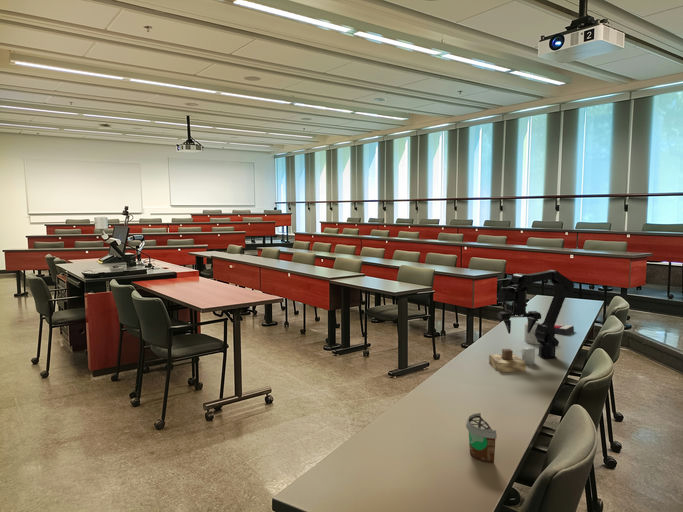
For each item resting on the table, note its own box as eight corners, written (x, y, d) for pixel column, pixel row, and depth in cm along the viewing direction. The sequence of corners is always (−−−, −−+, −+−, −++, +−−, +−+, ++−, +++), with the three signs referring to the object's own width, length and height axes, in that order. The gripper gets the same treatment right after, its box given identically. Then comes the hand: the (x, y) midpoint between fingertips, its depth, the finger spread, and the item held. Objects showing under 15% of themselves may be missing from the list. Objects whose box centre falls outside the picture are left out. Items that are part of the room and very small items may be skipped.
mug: (524, 343, 245) (524, 325, 244) (524, 338, 255) (524, 320, 254) (552, 346, 240) (552, 327, 239) (551, 340, 250) (551, 322, 249)
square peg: (509, 365, 211) (509, 348, 210) (512, 368, 207) (512, 351, 206) (501, 366, 210) (502, 348, 210) (504, 368, 207) (505, 351, 206)
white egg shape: (531, 360, 217) (531, 346, 216) (536, 364, 212) (537, 349, 211) (519, 361, 217) (520, 346, 216) (524, 365, 211) (525, 350, 211)
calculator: (547, 322, 278) (574, 324, 267) (547, 329, 278) (574, 332, 267) (540, 325, 270) (566, 328, 260) (540, 332, 271) (566, 335, 260)
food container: (459, 444, 140) (460, 413, 139) (479, 443, 141) (479, 412, 140) (474, 466, 128) (475, 432, 127) (496, 465, 128) (496, 431, 128)
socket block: (514, 362, 215) (514, 354, 215) (525, 371, 203) (525, 362, 203) (489, 363, 215) (489, 354, 214) (498, 371, 203) (499, 363, 202)
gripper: (531, 297, 224) (530, 328, 225) (493, 297, 223) (493, 329, 225) (542, 301, 213) (541, 334, 214) (502, 302, 212) (501, 335, 213)
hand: (518, 333), depth 217 cm, fingers open, 9 cm apart
